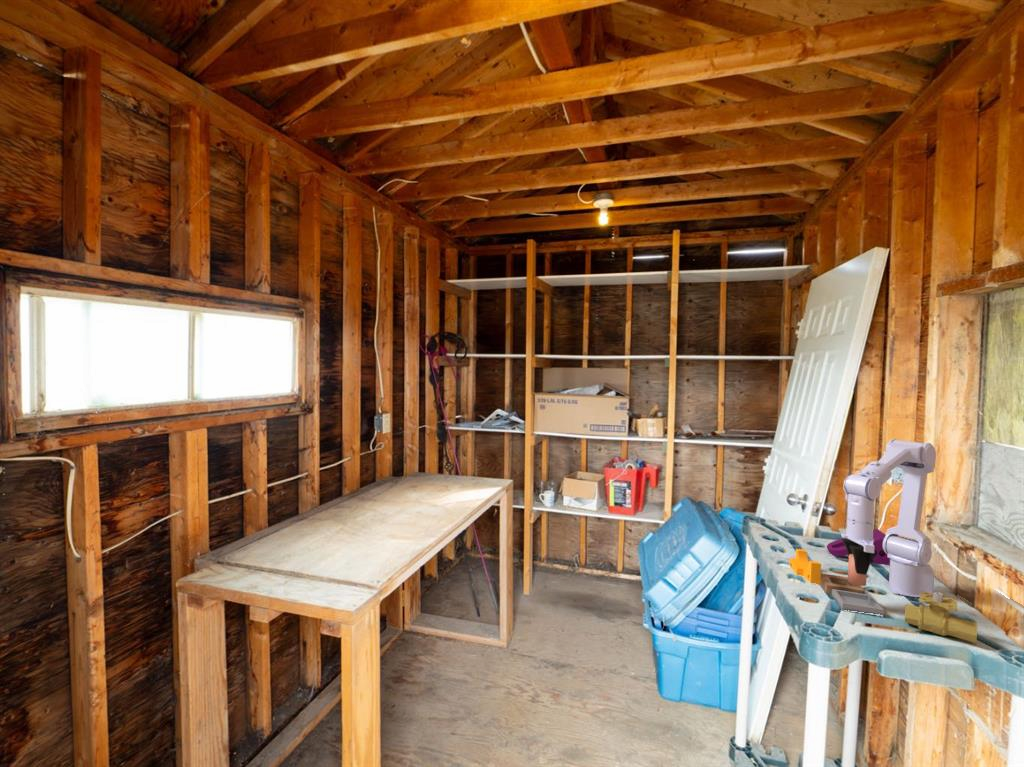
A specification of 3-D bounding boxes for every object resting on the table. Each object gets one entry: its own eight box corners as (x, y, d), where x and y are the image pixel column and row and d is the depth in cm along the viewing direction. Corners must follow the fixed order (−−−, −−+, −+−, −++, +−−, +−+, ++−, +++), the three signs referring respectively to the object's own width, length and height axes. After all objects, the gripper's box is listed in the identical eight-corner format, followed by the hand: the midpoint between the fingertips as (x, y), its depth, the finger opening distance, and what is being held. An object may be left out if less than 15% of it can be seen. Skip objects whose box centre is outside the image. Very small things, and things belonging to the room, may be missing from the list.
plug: (863, 580, 126) (864, 555, 125) (868, 587, 122) (869, 560, 122) (845, 578, 127) (846, 553, 127) (850, 584, 123) (851, 558, 123)
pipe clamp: (789, 567, 150) (789, 548, 150) (803, 569, 149) (804, 549, 149) (804, 583, 138) (804, 562, 138) (820, 585, 137) (821, 564, 137)
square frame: (852, 586, 137) (853, 578, 137) (864, 599, 128) (864, 590, 128) (817, 580, 140) (817, 572, 140) (826, 593, 131) (826, 584, 131)
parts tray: (870, 602, 127) (870, 594, 127) (883, 617, 119) (884, 610, 119) (831, 595, 130) (832, 588, 130) (842, 610, 122) (842, 603, 122)
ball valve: (904, 629, 113) (905, 589, 113) (907, 615, 121) (908, 577, 121) (976, 651, 105) (978, 608, 105) (975, 634, 112) (976, 593, 112)
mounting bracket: (843, 576, 159) (901, 561, 153) (831, 552, 160) (889, 537, 154) (834, 566, 167) (888, 551, 162) (823, 543, 169) (877, 528, 163)
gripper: (834, 511, 132) (832, 558, 132) (851, 525, 119) (849, 578, 119) (863, 514, 130) (861, 562, 130) (885, 529, 116) (882, 583, 116)
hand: (858, 570), depth 124 cm, fingers closed on plug, 4 cm apart
